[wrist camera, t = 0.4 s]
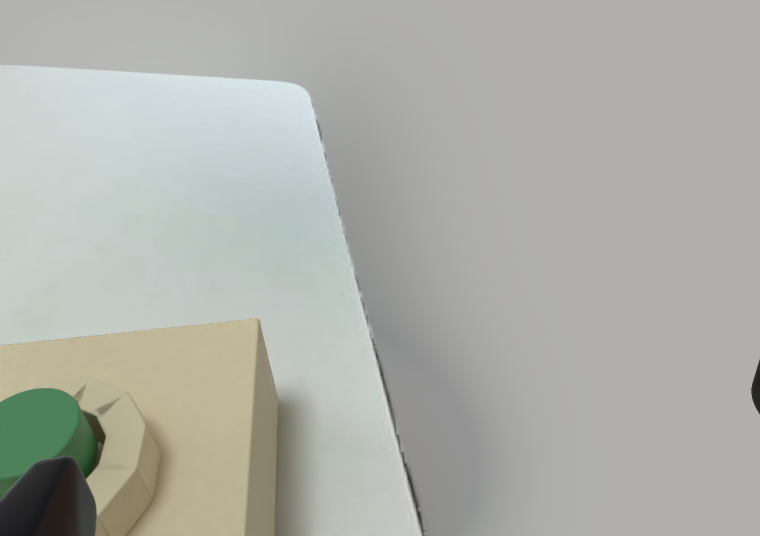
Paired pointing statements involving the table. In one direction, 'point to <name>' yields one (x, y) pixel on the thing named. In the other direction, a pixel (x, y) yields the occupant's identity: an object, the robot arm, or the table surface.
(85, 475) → the power button
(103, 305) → the table surface
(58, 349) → the box
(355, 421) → the table surface
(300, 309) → the table surface
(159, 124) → the table surface
